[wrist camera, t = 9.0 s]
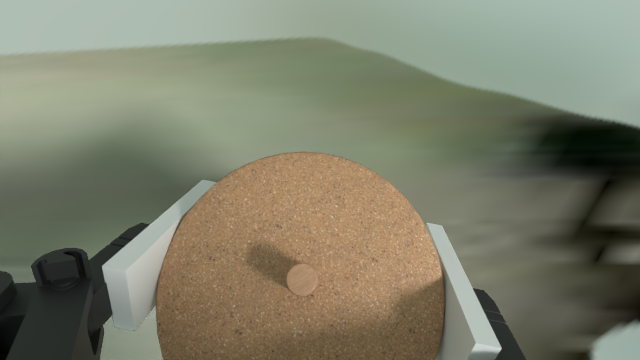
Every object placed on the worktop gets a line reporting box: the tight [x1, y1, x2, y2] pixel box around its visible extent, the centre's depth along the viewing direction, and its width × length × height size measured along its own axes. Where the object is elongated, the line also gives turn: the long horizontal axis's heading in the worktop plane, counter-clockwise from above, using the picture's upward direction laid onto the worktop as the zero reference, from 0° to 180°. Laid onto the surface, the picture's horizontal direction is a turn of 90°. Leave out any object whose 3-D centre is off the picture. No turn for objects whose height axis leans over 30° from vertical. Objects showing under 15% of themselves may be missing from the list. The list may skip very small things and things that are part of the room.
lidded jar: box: [156, 152, 445, 360], centre depth 14 cm, size 11×11×9 cm
